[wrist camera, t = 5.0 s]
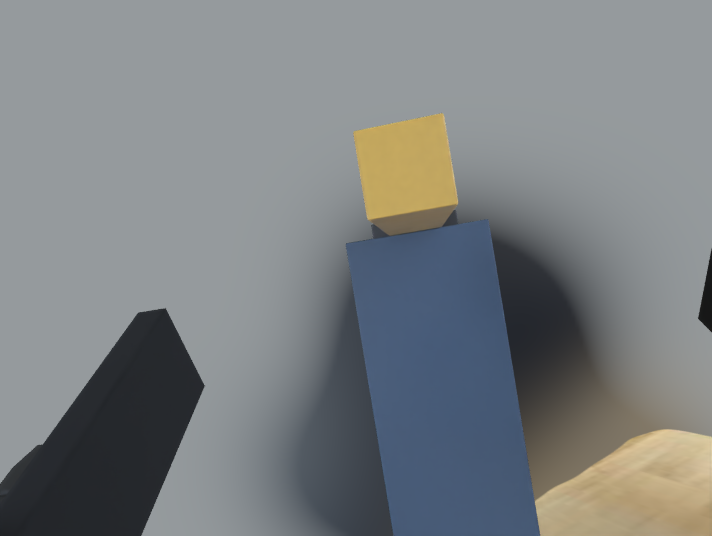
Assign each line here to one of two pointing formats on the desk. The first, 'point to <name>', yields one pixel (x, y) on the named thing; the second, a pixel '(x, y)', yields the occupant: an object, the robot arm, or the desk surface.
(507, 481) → the door post
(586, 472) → the desk surface
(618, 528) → the desk surface
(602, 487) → the desk surface
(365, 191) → the bar
